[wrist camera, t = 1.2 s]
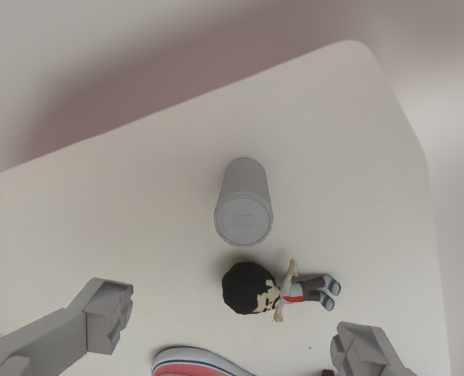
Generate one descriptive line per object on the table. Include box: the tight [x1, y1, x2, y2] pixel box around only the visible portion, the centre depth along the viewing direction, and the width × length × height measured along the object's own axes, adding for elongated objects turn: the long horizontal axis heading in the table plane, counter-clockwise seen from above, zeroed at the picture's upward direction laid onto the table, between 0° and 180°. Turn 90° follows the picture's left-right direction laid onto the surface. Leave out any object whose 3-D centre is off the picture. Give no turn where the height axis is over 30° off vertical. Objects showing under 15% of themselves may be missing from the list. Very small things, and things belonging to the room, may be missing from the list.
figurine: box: [222, 259, 341, 322], centre depth 35 cm, size 10×7×15 cm
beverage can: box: [214, 158, 273, 247], centre depth 27 cm, size 5×5×12 cm
